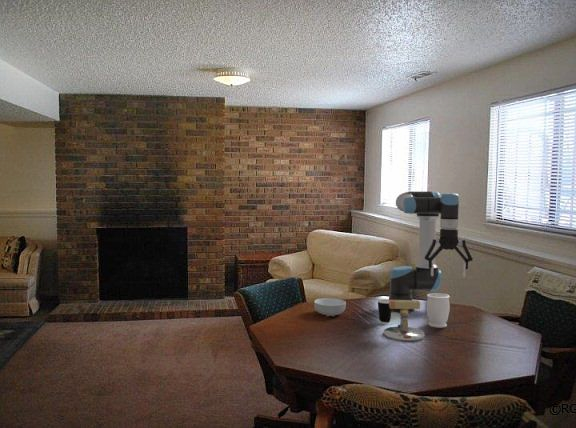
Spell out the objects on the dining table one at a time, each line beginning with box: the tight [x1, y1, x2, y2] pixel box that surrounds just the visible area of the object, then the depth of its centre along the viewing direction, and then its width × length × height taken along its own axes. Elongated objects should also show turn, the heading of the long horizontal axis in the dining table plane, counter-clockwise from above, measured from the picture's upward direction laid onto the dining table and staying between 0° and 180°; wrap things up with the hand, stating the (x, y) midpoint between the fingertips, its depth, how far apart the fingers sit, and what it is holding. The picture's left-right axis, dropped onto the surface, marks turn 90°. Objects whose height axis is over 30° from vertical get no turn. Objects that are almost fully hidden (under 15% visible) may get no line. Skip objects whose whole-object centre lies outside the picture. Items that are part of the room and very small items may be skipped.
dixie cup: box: [376, 298, 393, 325], centre depth 240 cm, size 8×8×11 cm
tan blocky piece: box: [389, 299, 421, 331], centre depth 219 cm, size 7×13×13 cm, turn 86°
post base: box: [383, 316, 425, 343], centre depth 220 cm, size 18×18×8 cm
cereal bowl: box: [313, 297, 347, 317], centre depth 255 cm, size 17×17×7 cm
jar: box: [426, 292, 451, 329], centre depth 235 cm, size 11×10×15 cm
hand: (447, 276), depth 216 cm, fingers open, 13 cm apart
